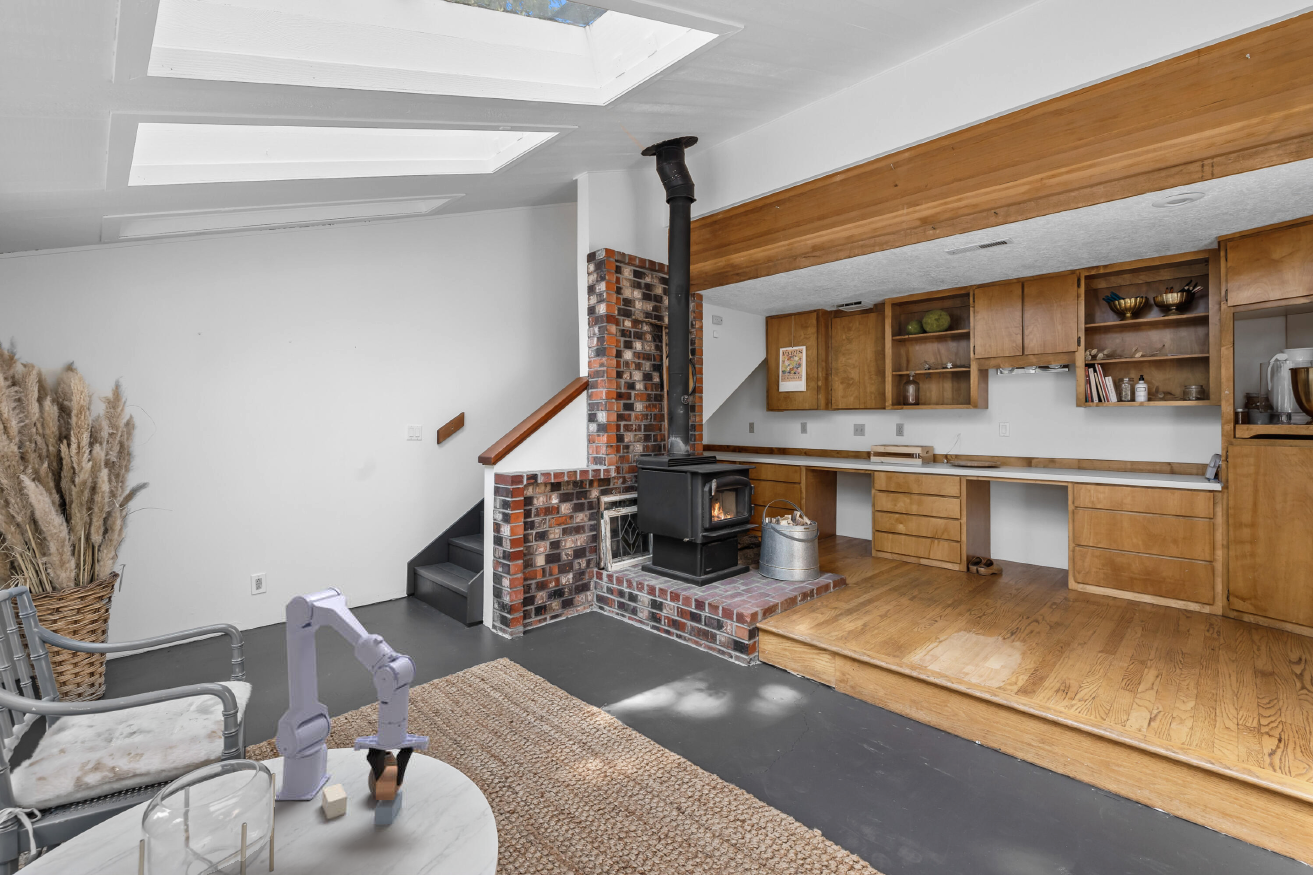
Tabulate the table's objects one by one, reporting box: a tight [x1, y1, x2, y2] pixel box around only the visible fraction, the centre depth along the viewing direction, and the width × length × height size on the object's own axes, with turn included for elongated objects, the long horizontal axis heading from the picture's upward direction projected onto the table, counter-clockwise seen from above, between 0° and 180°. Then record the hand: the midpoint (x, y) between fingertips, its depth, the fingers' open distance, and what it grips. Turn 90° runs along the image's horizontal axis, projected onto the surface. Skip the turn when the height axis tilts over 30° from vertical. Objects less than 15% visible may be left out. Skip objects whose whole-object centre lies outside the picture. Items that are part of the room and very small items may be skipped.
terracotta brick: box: [375, 766, 404, 801], centre depth 123 cm, size 6×3×4 cm, turn 5°
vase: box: [367, 750, 397, 798], centre depth 130 cm, size 7×7×9 cm
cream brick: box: [321, 783, 348, 820], centre depth 124 cm, size 6×3×4 cm, turn 40°
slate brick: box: [373, 789, 403, 826], centre depth 123 cm, size 6×3×4 cm, turn 5°
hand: (390, 783), depth 123 cm, fingers closed on terracotta brick, 3 cm apart
